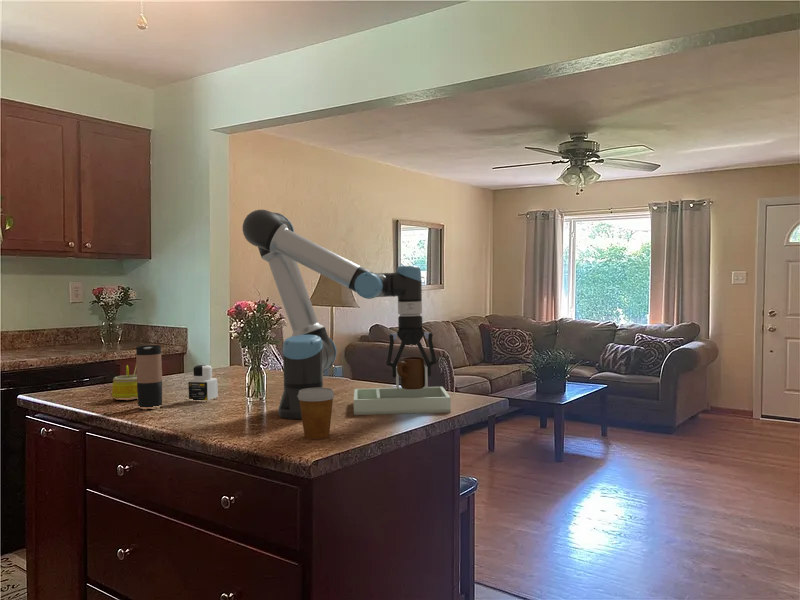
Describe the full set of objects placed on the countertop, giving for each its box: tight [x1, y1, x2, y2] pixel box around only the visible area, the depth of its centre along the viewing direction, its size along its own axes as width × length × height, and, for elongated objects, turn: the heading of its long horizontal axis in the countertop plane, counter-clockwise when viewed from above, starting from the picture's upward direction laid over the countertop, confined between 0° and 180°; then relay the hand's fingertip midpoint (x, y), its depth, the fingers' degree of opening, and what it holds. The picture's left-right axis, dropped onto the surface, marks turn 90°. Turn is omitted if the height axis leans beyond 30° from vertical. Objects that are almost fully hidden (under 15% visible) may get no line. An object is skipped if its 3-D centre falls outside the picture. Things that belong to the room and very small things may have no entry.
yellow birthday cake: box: [111, 363, 138, 398], centre depth 228 cm, size 13×11×12 cm
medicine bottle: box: [187, 364, 219, 400], centre depth 223 cm, size 7×7×12 cm
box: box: [353, 386, 452, 416], centre depth 204 cm, size 29×20×4 cm
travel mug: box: [135, 344, 163, 407], centre depth 210 cm, size 8×8×20 cm
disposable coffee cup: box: [297, 387, 336, 440], centre depth 167 cm, size 10×10×12 cm
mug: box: [396, 356, 425, 389], centre depth 204 cm, size 12×8×9 cm, turn 147°
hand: (411, 387), depth 204 cm, fingers closed on mug, 8 cm apart
